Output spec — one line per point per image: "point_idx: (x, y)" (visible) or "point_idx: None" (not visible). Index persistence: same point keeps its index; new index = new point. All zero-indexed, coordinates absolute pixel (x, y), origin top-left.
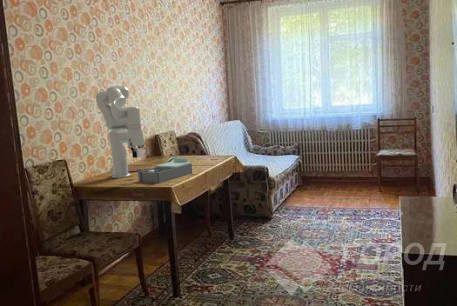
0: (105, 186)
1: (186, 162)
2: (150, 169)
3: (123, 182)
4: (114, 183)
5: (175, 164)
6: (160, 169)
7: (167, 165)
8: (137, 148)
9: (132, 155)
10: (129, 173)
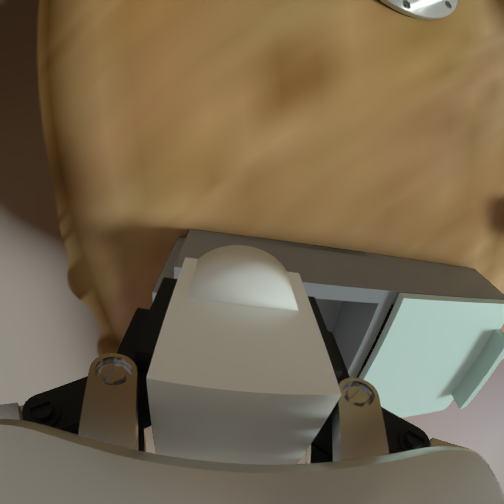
0: (69, 61)
1: (448, 396)
2: (315, 295)
3: (198, 85)
4: (158, 41)
5: (408, 389)
6: (359, 330)
7: (386, 371)
8: (218, 456)
9: (156, 294)
10: (450, 5)
